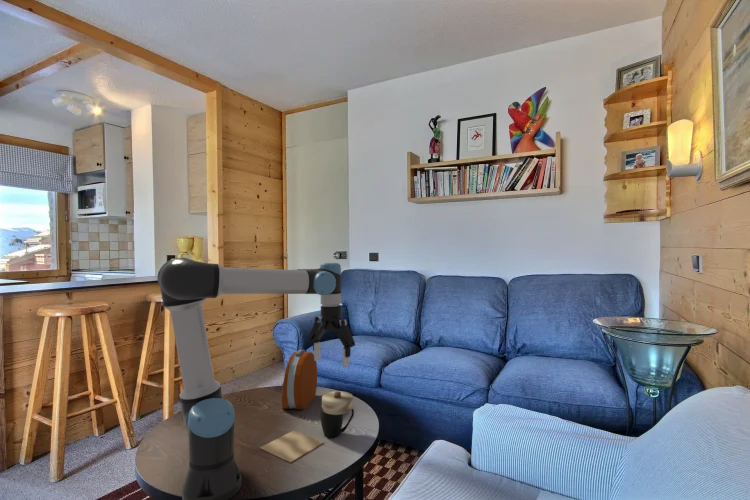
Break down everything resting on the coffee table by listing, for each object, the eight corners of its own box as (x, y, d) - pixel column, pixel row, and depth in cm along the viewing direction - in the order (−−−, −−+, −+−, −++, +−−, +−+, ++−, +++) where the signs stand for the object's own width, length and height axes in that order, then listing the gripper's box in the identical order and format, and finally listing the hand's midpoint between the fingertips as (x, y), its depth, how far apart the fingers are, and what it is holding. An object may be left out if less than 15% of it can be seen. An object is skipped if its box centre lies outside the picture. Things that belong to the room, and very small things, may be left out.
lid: (338, 417, 130) (338, 401, 130) (315, 409, 137) (315, 394, 137) (358, 406, 139) (358, 391, 139) (336, 399, 146) (336, 385, 146)
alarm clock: (297, 392, 179) (297, 343, 179) (317, 393, 177) (317, 344, 177) (277, 412, 157) (276, 357, 157) (300, 413, 155) (299, 358, 155)
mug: (354, 439, 134) (354, 412, 134) (319, 441, 133) (319, 413, 133) (353, 428, 143) (353, 402, 143) (321, 429, 141) (320, 404, 141)
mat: (290, 463, 119) (290, 462, 119) (259, 448, 128) (259, 447, 128) (323, 443, 132) (323, 442, 132) (293, 431, 140) (293, 430, 140)
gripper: (364, 306, 137) (364, 365, 137) (312, 301, 151) (313, 355, 151) (351, 309, 130) (352, 371, 130) (299, 303, 144) (299, 359, 144)
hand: (331, 362), depth 141 cm, fingers open, 13 cm apart
